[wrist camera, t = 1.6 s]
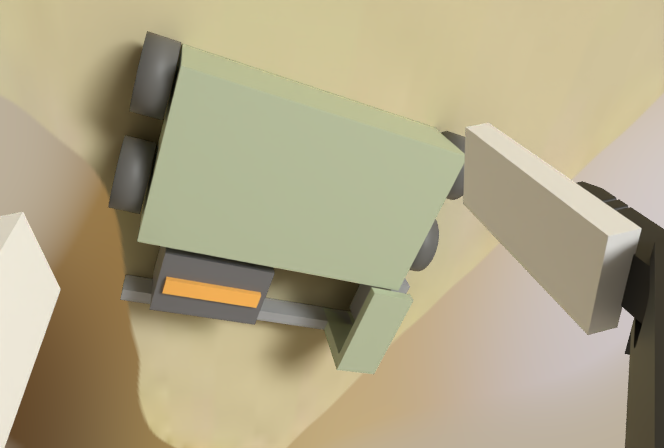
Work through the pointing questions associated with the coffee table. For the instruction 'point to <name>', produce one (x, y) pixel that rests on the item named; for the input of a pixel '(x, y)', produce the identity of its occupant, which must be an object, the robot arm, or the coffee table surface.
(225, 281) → the orange striped grey block
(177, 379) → the coffee table surface
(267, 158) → the green wheeled box
